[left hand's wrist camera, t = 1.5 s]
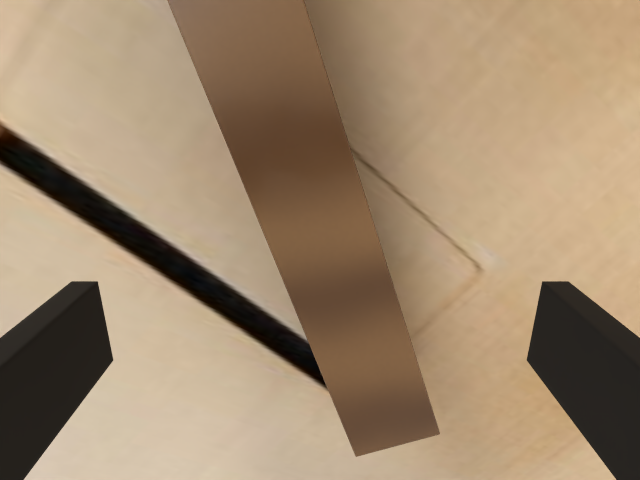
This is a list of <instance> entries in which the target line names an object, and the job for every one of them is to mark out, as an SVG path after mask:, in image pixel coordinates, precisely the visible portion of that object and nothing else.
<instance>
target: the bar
mask: <svg viewBox="0 0 640 480" xmlns="http://www.w3.org/2000/svg"><path fill="white" fill-rule="evenodd" d="M168 3H169V5H170V8H171V10H172V13H173V15H174V17H175V20H176V22H177V25H178V27H179V30H180V32H181V34H182V37H183V39H184V42H185V44H186V46H187V49H188V51H189V54H190V56H191V59H192V61H193V63H194V66H195V68H196V71H197V73H198V76H199V78H200V80H201V83H202V85H203V88H204V90H205V92H206V95H207V97H208V100H209V102H210V105H211V107H212V109H213V112H214V114H215V117H216V119H217V122H218V124H219V126H220V129H221V131H222V134H223V136H224V139H225V141H226V143H227V146H228V148H229V151H230V153H231V155H232V158H233V160H234V163H235V165H236V168H237V170H238V172H239V175H240V177H241V180H242V182H243V185H244V187H245V189H246V192H247V194H248V197H249V199H250V201H251V204H252V206H253V209H254V211H255V214H256V216H257V218H258V221H259V223H260V226H261V228H262V231H263V233H264V235H265V238H266V240H267V243H268V245H269V248H270V250H271V252H272V255H273V257H274V260H275V262H276V264H277V267H278V269H279V272H280V274H281V277H282V279H283V281H284V284H285V286H286V289H287V291H288V294H289V296H290V298H291V301H292V303H293V306H294V308H295V310H296V313H297V315H298V318H299V320H300V323H301V325H302V327H303V330H304V332H305V335H306V337H307V340H308V342H309V344H310V347H311V349H312V352H313V354H314V357H315V359H316V361H317V364H318V366H319V369H320V371H321V373H322V376H323V378H324V381H325V383H326V386H327V388H328V390H329V393H330V395H331V398H332V400H333V403H334V405H335V407H336V410H337V412H338V415H339V417H340V419H341V422H342V424H343V427H344V429H345V432H346V434H347V436H348V439H349V441H350V444H351V446H352V449H353V451H354V453H355V456H356V457H357V456H361V455H365V454H368V453H372V452H376V451H379V450H383V449H387V448H390V447H394V446H398V445H402V444H405V443H409V442H413V441H416V440H420V439H424V438H428V437H431V436H435V435H439V434H440V432H439V429H438V426H437V423H436V419H435V416H434V413H433V410H432V407H431V404H430V400H429V397H428V394H427V391H426V388H425V384H424V381H423V378H422V375H421V372H420V369H419V365H418V362H417V359H416V356H415V353H414V349H413V346H412V343H411V340H410V337H409V334H408V330H407V327H406V324H405V321H404V318H403V315H402V311H401V308H400V305H399V302H398V299H397V295H396V292H395V289H394V286H393V283H392V280H391V276H390V273H389V270H388V267H387V264H386V260H385V257H384V254H383V251H382V248H381V245H380V241H379V238H378V235H377V232H376V229H375V225H374V222H373V219H372V216H371V213H370V210H369V206H368V203H367V200H366V197H365V194H364V191H363V187H362V184H361V181H360V178H359V175H358V171H357V168H356V165H355V162H354V159H353V156H352V152H351V149H350V146H349V143H348V140H347V136H346V133H345V130H344V127H343V124H342V121H341V117H340V114H339V111H338V108H337V105H336V102H335V98H334V95H333V92H332V89H331V86H330V82H329V79H328V76H327V73H326V70H325V67H324V63H323V60H322V57H321V54H320V51H319V47H318V44H317V41H316V38H315V35H314V32H313V28H312V25H311V22H310V19H309V16H308V13H307V9H306V6H305V3H304V0H168Z"/></svg>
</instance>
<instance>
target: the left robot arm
mask: <svg viewBox="0 0 640 480" xmlns="http://www.w3.org/2000/svg"><path fill="white" fill-rule="evenodd" d="M112 361H113V357H112V352H111V347H110V341H109V336H108V331H107V326H106V321H105V316H104V311H103V306H102V301H101V296H100V291H99V286H98V282H70V283H69V284H68V285H67V286H65V287H64V288H63V289H62V290H60V291H59V292H58V293H57V294H55V295H54V296H53V297H51V298H50V299H49V300H48V301H46V302H45V303H44V304H43V305H41V306H40V307H39V308H38V309H36V310H35V311H34V312H33V313H31V314H30V315H29V316H27V317H26V318H25V319H24V320H22V321H21V322H20V323H19V324H17V325H16V326H15V327H14V328H12V329H11V330H10V331H8V332H7V333H6V334H5V335H3V336H2V337H1V338H0V480H24V478H25V477H26V476H27V474H28V473H29V472H30V470H31V469H32V468H33V466H34V465H35V464H36V462H37V461H38V460H39V458H40V457H41V456H42V454H43V453H44V452H45V450H46V449H47V448H48V446H49V445H50V444H51V442H52V441H53V440H54V438H55V437H56V436H57V434H58V433H59V432H60V430H61V429H62V428H63V426H64V425H65V424H66V422H67V421H68V420H69V418H70V417H71V416H72V414H73V413H74V412H75V410H76V409H77V408H78V406H79V405H80V404H81V402H82V401H83V400H84V398H85V397H86V396H87V394H88V393H89V392H90V390H91V389H92V388H93V386H94V385H95V384H96V382H97V381H98V380H99V378H100V377H101V376H102V374H103V373H104V372H105V371H106V369H107V368H108V367H109V365H110V364H111V363H112ZM527 361H528V363H529V364H530V365H531V367H532V368H533V369H534V371H535V372H536V373H537V374H538V376H539V377H540V378H541V380H542V381H543V382H544V384H545V385H546V386H547V388H548V389H549V390H550V392H551V393H552V394H553V396H554V397H555V398H556V400H557V401H558V402H559V404H560V405H561V406H562V408H563V409H564V410H565V412H566V413H567V414H568V416H569V417H570V418H571V420H572V421H573V422H574V424H575V425H576V426H577V428H578V429H579V430H580V432H581V433H582V434H583V436H584V437H585V438H586V440H587V441H588V442H589V444H590V445H591V446H592V448H593V449H594V450H595V452H596V453H597V454H598V456H599V457H600V458H601V460H602V461H603V462H604V464H605V465H606V466H607V468H608V469H609V470H610V472H611V473H612V474H613V476H614V477H615V478H616V480H640V338H639V337H638V336H637V335H635V334H634V333H633V332H632V331H630V330H629V329H628V328H626V327H625V326H624V325H623V324H621V323H620V322H619V321H618V320H616V319H615V318H614V317H613V316H611V315H610V314H609V313H607V312H606V311H605V310H604V309H602V308H601V307H600V306H599V305H597V304H596V303H595V302H594V301H592V300H591V299H590V298H589V297H587V296H586V295H585V294H583V293H582V292H581V291H580V290H578V289H577V288H576V287H575V286H573V285H572V284H571V283H570V282H542V286H541V291H540V296H539V301H538V306H537V311H536V316H535V321H534V326H533V331H532V336H531V341H530V347H529V352H528V357H527Z"/></svg>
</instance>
